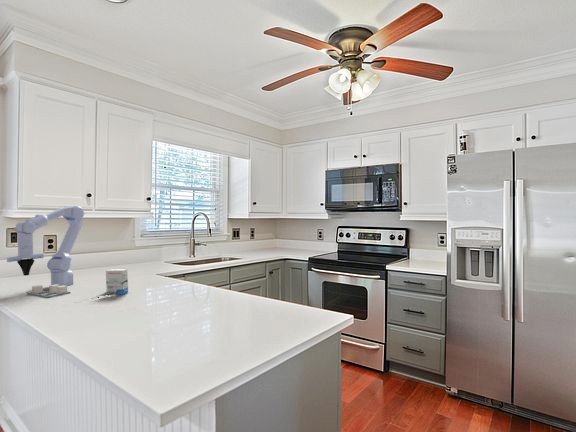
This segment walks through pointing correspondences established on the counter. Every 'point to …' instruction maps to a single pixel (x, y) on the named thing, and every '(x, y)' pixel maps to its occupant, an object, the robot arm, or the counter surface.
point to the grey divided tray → (47, 294)
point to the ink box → (117, 281)
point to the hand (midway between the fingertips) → (26, 275)
